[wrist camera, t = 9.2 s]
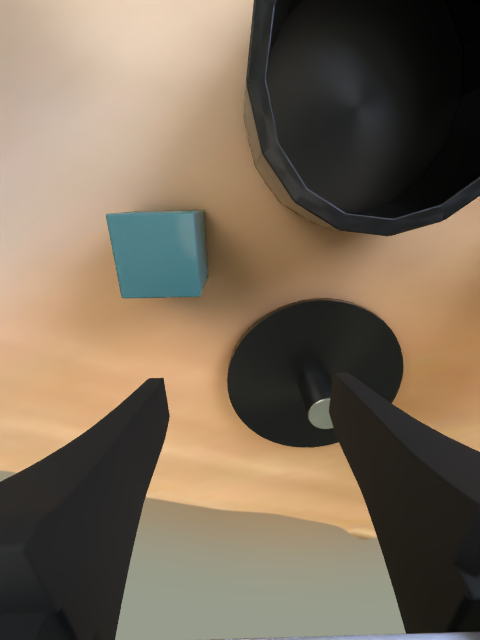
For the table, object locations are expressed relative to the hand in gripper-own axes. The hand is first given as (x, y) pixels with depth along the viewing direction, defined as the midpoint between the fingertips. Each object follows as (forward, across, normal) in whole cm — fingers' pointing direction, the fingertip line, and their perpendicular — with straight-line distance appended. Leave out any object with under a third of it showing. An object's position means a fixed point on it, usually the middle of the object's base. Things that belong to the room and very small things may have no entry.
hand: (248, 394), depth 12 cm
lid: (+9, -5, +6) cm, 12 cm away
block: (+10, +5, -5) cm, 12 cm away
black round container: (+9, -7, -12) cm, 17 cm away
